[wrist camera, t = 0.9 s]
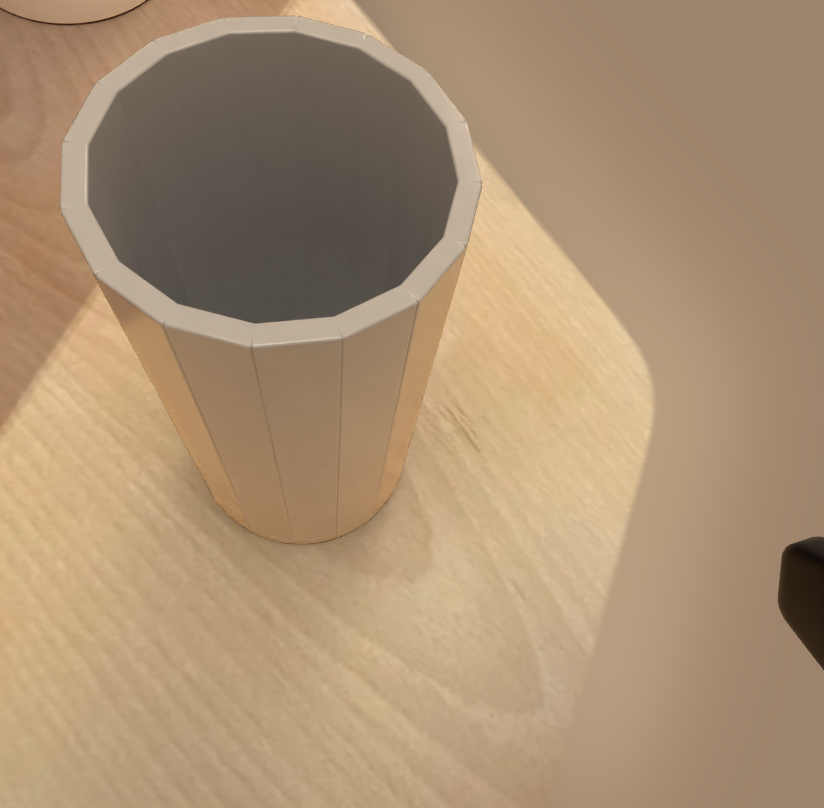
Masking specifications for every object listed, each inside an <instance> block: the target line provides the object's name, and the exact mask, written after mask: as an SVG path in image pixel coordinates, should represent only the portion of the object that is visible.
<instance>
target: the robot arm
mask: <svg viewBox="0 0 824 808" xmlns="http://www.w3.org/2000/svg"><path fill="white" fill-rule="evenodd" d="M778 604H779V608H780V611H781V613H782V615H783V617H784V619H785V620H786V622H787V623H788V625H789V626H790V627H791V628H792V630H793V631H794V632H795V634H796V635H797V636H798V638H799V639H800V640H801V641H802V643H803V644H804V645H805V646H806V648H807V649H808V650H809V652H810V653H811V654H812V655H813V657H814V658H815V659H816V661H817V662H818V663H819V664H820V666H821V667H822V668H823V670H824V538H823V537H811V538H808V539H805V540H802V541H799V542H797V543H793V544H790V545H789V546H787V547H786V548H785V550H784V552H783V553H782V559H781V570H780V580H779V590H778Z"/></svg>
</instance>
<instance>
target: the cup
mask: <svg viewBox="0 0 824 808" xmlns="http://www.w3.org/2000/svg"><path fill="white" fill-rule="evenodd" d="M144 1H146V0H0V8H2V9H4V10H6V11H8V12H10V13H13V14H15V15H18V16H21V17H24V18H27V19H32V20H36V21H42V22H48V23H66V24H71V23H84V22H92V21H97V20H102V19H106V18H110V17H113V16H116V15H119V14H121V13H124V12H126V11H128V10H130V9H132V8H134V7H136V6H138V5H139V4H141V3H143V2H144Z"/></svg>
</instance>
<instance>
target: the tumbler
mask: <svg viewBox="0 0 824 808" xmlns="http://www.w3.org/2000/svg"><path fill="white" fill-rule="evenodd" d="M481 184H482V180H481V176H480V172H479V168H478V164H477V159H476V155H475V151H474V147H473V143H472V139H471V135H470V131H469V126H468V124H467V123H466V120H465V118H464V117H463V116H462V114H461V113H460V112H459V111H458V109H457V108H456V107H455V106H454V104H453V103H452V102H451V100H450V99H449V98H448V97H447V95H446V94H445V93H444V92H443V90H442V89H441V88H440V87H439V85H438V84H437V83H436V81H435V80H434V79H433V77H432V76H431V75H430V74H429V73H428V72H426V70H425V69H424V68H422V67H421V66H419V65H417V64H416V63H414V62H412V61H411V60H409V59H408V58H406V57H405V56H403V55H401V54H400V53H398V52H396V51H395V50H393V49H392V48H390V47H388V46H387V45H385V44H383V43H382V42H380V41H379V40H377V39H375V38H374V37H372V36H371V35H367V34H366V33H363V32H359V31H355V30H351V29H347V28H343V27H339V26H336V25H332V24H328V23H324V22H320V21H316V20H312V19H309V18H305V17H301V16H298V17H296V16H257V17H225V18H224V19H222V18H219V19H216V20H213V21H210V22H207V23H204V24H201V25H197V26H194V27H191V28H188V29H185V30H182V31H179V32H176V33H173V34H170V35H167V36H163V37H160V38H157V39H155V40H154V41H151V42H149V43H148V44H146V45H145V46H144V47H142V48H141V49H140V50H138V51H137V52H136V53H134V54H133V55H132V56H130V57H129V58H128V59H126V60H125V61H124V62H122V63H121V64H120V65H118V66H117V67H116V68H114V69H113V70H112V71H110V72H109V73H108V74H106V75H105V76H104V77H103V78H101V79H100V80H99V81H97V84H95V85H94V86H93V88H92V90H91V92H90V93H89V95H88V97H87V99H86V100H85V102H84V104H83V106H82V107H81V109H80V111H79V113H78V114H77V116H76V118H75V120H74V121H73V123H72V125H71V127H70V128H69V130H68V132H67V134H66V135H65V137H64V139H63V143H62V150H61V189H60V209H61V214H62V216H63V218H64V220H65V222H66V224H67V225H68V227H69V229H70V231H71V233H72V235H73V237H74V239H75V241H76V243H77V244H78V246H79V248H80V250H81V252H82V254H83V256H84V258H85V260H86V261H87V263H88V265H89V267H90V269H91V271H92V273H93V275H94V277H95V278H96V280H97V282H98V284H99V286H100V288H101V289H102V291H103V293H104V295H105V297H106V299H107V301H108V302H109V304H110V306H111V308H112V310H113V312H114V314H115V315H116V317H117V319H118V321H119V323H120V325H121V327H122V328H123V330H124V332H125V334H126V336H127V338H128V339H129V341H130V343H131V345H132V347H133V349H134V351H135V352H136V354H137V356H138V358H139V360H140V362H141V364H142V365H143V367H144V369H145V371H146V373H147V375H148V377H149V378H150V380H151V382H152V384H153V386H154V388H155V389H156V391H157V393H158V395H159V397H160V399H161V401H162V402H163V404H164V406H165V408H166V410H167V412H168V414H169V415H170V417H171V419H172V421H173V423H174V425H175V427H176V428H177V430H178V432H179V434H180V436H181V438H182V439H183V441H184V443H185V445H186V447H187V449H188V451H189V452H190V454H191V456H192V458H193V460H194V462H195V464H196V465H197V467H198V469H199V471H200V473H201V475H202V477H203V478H204V480H205V482H206V484H207V486H208V488H209V489H210V491H211V493H212V495H213V497H214V499H215V501H216V502H217V504H218V505H219V506H220V507H221V508H222V509H223V510H224V511H225V512H226V513H227V514H228V515H229V516H230V517H231V518H232V519H233V520H234V521H236V522H237V523H238V524H240V525H241V526H243V527H244V528H246V529H247V530H249V531H251V532H253V533H255V534H257V535H259V536H261V537H264V538H267V539H270V540H273V541H278V542H284V543H292V544H309V543H318V542H323V541H328V540H331V539H334V538H337V537H340V536H343V535H345V534H347V533H349V532H351V531H353V530H355V529H356V528H358V527H359V526H361V525H363V524H364V523H366V522H367V521H368V520H369V519H370V518H371V517H373V516H374V515H375V514H376V513H377V512H378V511H379V510H380V508H381V507H382V506H383V505H384V504H385V503H386V501H387V500H388V498H389V497H390V495H391V494H392V492H393V490H394V488H395V486H396V485H397V484H398V482H399V479H400V476H401V472H402V469H403V465H404V462H405V458H406V455H407V452H408V448H409V445H410V441H411V438H412V434H413V431H414V427H415V424H416V421H417V417H418V414H419V410H420V407H421V403H422V400H423V397H424V393H425V390H426V386H427V383H428V379H429V376H430V372H431V369H432V366H433V362H434V359H435V355H436V352H437V348H438V345H439V341H440V338H441V335H442V331H443V328H444V324H445V321H446V317H447V314H448V311H449V307H450V304H451V300H452V297H453V293H454V290H455V286H456V283H457V280H458V276H459V273H460V269H461V266H462V262H463V259H464V256H465V252H466V249H467V245H468V241H469V237H470V233H471V229H472V225H473V221H474V217H475V213H476V209H477V205H478V201H479V197H480V193H481V189H482V185H481Z"/></svg>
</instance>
